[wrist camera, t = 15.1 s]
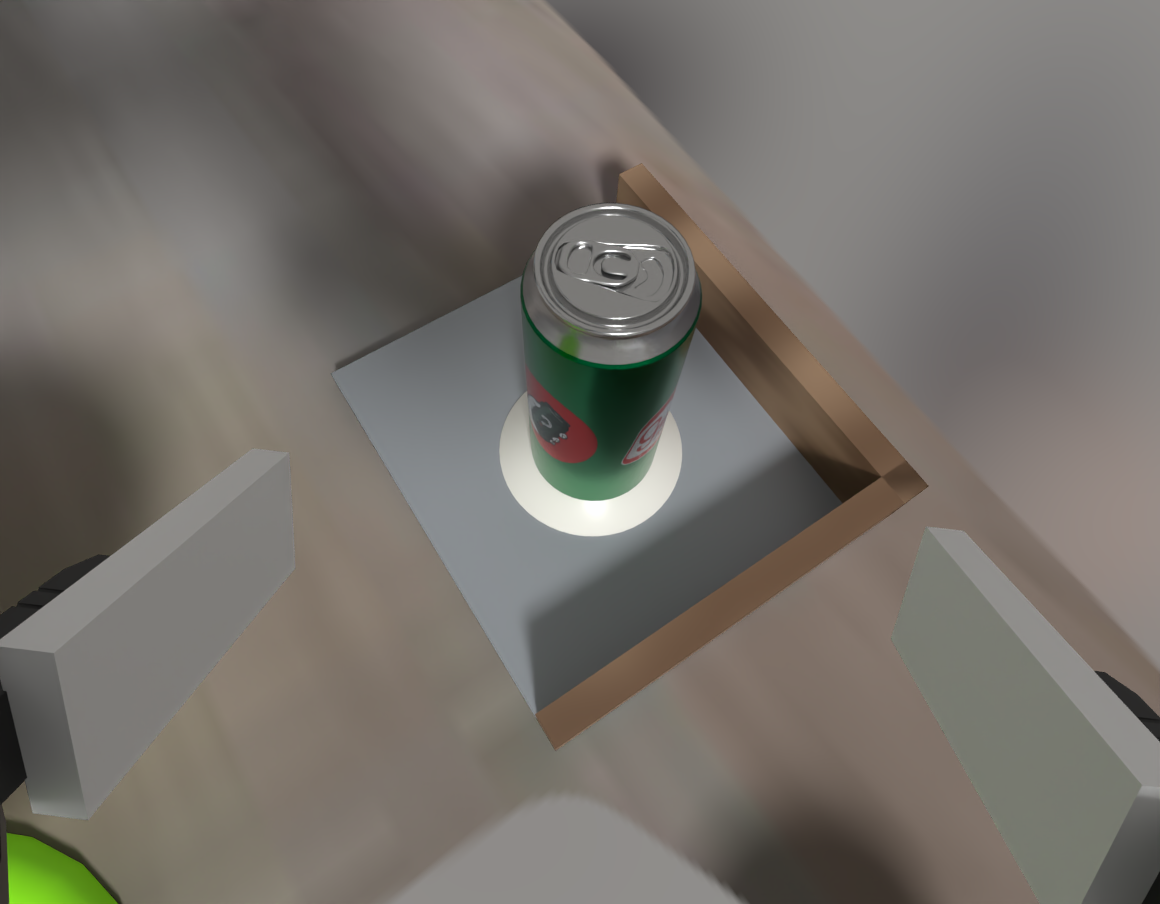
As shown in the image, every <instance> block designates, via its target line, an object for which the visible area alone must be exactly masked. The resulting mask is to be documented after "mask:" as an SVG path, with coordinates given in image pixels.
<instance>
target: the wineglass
mask: <svg viewBox="0 0 1160 904" xmlns="http://www.w3.org/2000/svg"><path fill="white" fill-rule="evenodd" d="M7 856H8V882H9V904H118V903H117V902H116V901H115V900H114V898H113V897H112V896H111V895H110V894H109V893H108V892H107V891H106V890H105V888H104V887H103V886H102V885H101V884H100V883H99V882H98V881H97V880H96V878H95V877H94V876H93V875H92V874H91V873H90V872H89V871H88V870H87V868H86V867H85V866H84V865H83V864H81V863H79V862H78V861H76V860H74V859H72V858H70V857H68V856H66V855H65V854H63V853H61V852H59V851H57V850H55V849H53V848H52V847H50V846H48V845H46V844H44V843H42V842H40V841H39V840H37V839H35V838H33V837H29V836H23V835H17V834H10V833H7Z"/></svg>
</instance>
